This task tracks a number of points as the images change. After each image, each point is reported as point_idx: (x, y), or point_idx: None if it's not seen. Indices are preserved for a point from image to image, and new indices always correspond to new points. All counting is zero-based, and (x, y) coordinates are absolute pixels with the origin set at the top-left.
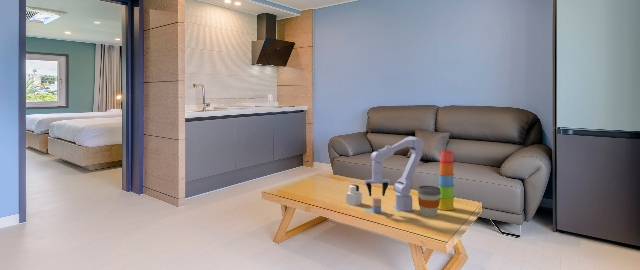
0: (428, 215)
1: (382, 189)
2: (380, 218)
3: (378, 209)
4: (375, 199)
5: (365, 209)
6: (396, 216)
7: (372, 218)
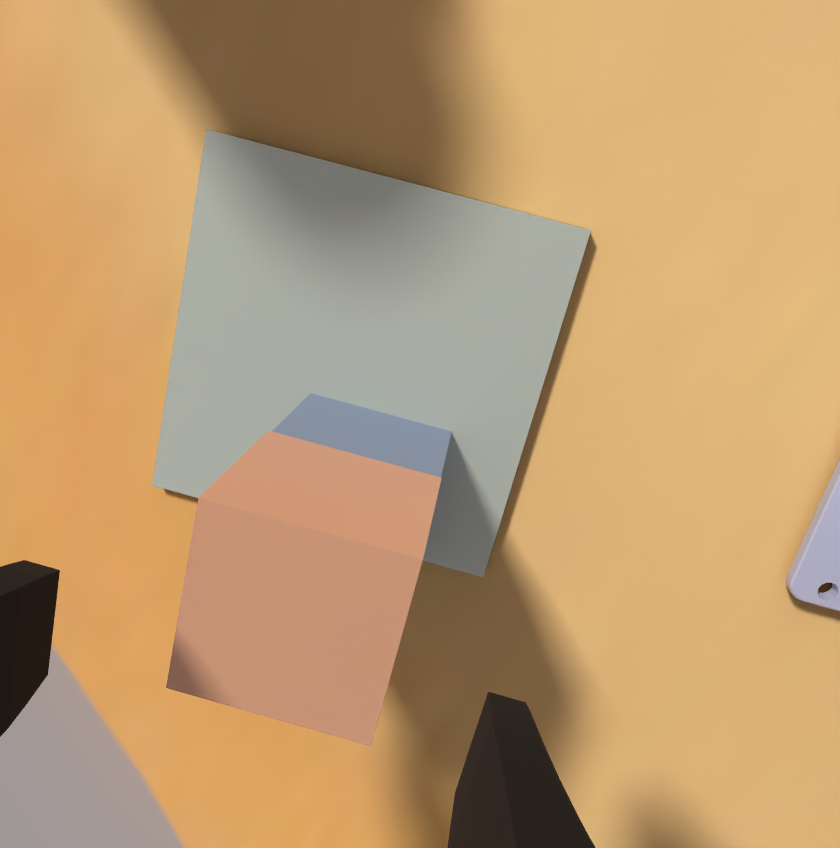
0: None
1: (511, 834)
2: (288, 754)
3: None
4: (208, 694)
5: (206, 253)
6: (600, 777)
7: (163, 707)
